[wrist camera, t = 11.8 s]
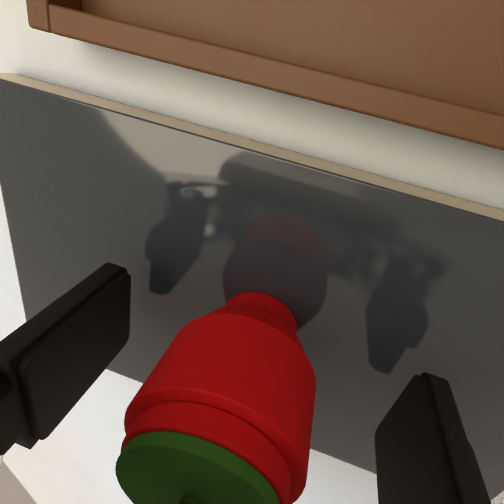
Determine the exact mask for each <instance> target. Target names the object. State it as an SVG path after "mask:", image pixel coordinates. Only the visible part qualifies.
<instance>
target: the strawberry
mask: <svg viewBox="0 0 504 504" xmlns="http://www.w3.org/2000/svg"><path fill="white" fill-rule="evenodd" d="M296 334H297V325H296V321H295V318H294V316H293V314H292V312H291V311H290V310H289V308H288V307H287V306H286V305H285V304H283V303H282V302H281V301H279V300H278V299H276V298H274V297H273V296H270V295H268V294H264V293H259V292H246V293H242V294H239V295H237V296H235V297H233V298H231V299H230V300H229V301H228V302H227V303H226V305H225V306H224V307H222V308H219V309H217V310H214V311H212V312H210V313H208V314H207V315H205V316H202V317H198V318H196V319H194V320H192V321H190V322H189V323H187V324H186V325H184V326H183V327H182V328H181V329H180V330H179V332H178V333H177V335H176V336H175V338H174V339H173V341H172V342H171V344H170V345H169V346H168V348H167V349H166V351H165V352H164V354H163V355H162V357H161V358H160V360H159V361H158V363H157V364H156V366H155V367H154V369H153V370H152V372H151V373H150V375H149V376H148V378H147V379H146V381H145V382H144V384H143V385H142V387H141V388H140V390H139V391H138V392H137V394H136V395H135V397H134V398H133V400H132V401H131V403H130V404H129V406H128V408H127V410H126V413H125V419H124V426H125V432H126V436H125V438H124V440H123V443H122V447H121V454H120V456H119V457H118V460H117V462H116V476H117V479H118V482H119V484H120V486H121V488H122V489H123V491H124V492H125V494H126V495H127V496H128V497H129V499H130V500H131V501H132V502H133V503H134V504H292V503H294V502H295V501H296V500H297V499H298V498H299V497H300V495H301V494H302V492H303V490H304V488H305V485H306V479H307V470H308V461H309V451H310V442H311V432H312V423H313V413H314V404H315V394H316V378H315V373H314V371H313V368H312V365H311V363H310V361H309V360H308V358H307V356H306V354H305V351H304V349H303V346H302V344H301V342H300V340H299V339H298V337H297V335H296Z"/></svg>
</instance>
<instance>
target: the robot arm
mask: <svg viewBox="0 0 504 504" xmlns="http://www.w3.org/2000/svg"><path fill="white" fill-rule="evenodd" d="M130 301H131V275H130V274H128V273H127V269H126V268H124V267H121V266H119V265H116V264H113V263H110V262H107V263H105V264H104V265H102V266H101V267H100V268H98V269H97V270H96V271H94V272H93V273H92V274H90V275H89V276H88V277H86V278H85V279H84V280H82V281H81V282H80V283H78V284H77V285H76V286H74V287H73V288H72V289H70V290H69V291H68V292H66V293H65V294H64V295H62V296H60V297H59V298H58V299H56V300H55V301H54V302H52V303H51V304H50V305H48V306H47V307H46V308H44V309H43V310H42V311H40V312H39V313H38V314H36V315H35V316H34V317H32V318H31V319H30V320H28V321H27V322H26V323H24V324H23V325H22V326H20V327H19V328H18V329H16V330H15V331H14V332H12V333H11V334H10V335H8V336H7V337H6V338H4V339H3V340H2V341H0V469H1V464H2V459H3V455H4V454H5V453H6V452H7V451H8V450H9V449H10V448H11V447H12V445H13V444H14V443H17V444H19V445H21V446H23V447H26V448H28V449H31V448H32V447H33V446H34V445H35V444H36V442H37V441H38V440H39V439H40V440H43V439H45V438H47V437H48V436H49V435H50V434H51V433H52V431H53V430H54V429H55V428H56V427H57V425H58V424H59V423H60V422H61V421H62V420H63V418H64V417H65V416H66V415H67V414H68V412H69V411H70V410H71V409H72V408H73V407H74V405H75V404H76V403H77V402H78V401H79V399H80V398H81V397H82V396H83V395H84V393H85V392H86V391H87V390H88V389H89V388H90V386H91V385H92V384H93V383H94V382H95V380H96V379H97V378H98V377H99V376H100V375H101V373H102V372H103V371H104V370H105V369H106V367H107V366H108V365H109V364H110V363H111V361H112V360H113V359H114V358H115V357H116V356H117V354H118V353H119V352H120V351H121V350H122V348H123V347H124V346H125V345H126V343H127V341H128V339H129V335H130ZM374 442H375V457H376V472H377V487H378V501H379V504H491V501H490V498H489V495H488V492H487V489H486V486H485V483H484V480H483V477H482V474H481V471H480V468H479V465H478V462H477V459H476V456H475V453H474V450H473V448H472V446H471V444H470V442H469V441H468V439H467V436H466V433H465V430H464V427H463V424H462V421H461V418H460V415H459V412H458V409H457V406H456V402H455V399H454V396H453V393H452V390H451V387H450V384H449V382H448V381H447V380H446V379H444V378H441V377H438V376H435V375H432V374H429V373H426V372H423V373H422V374H421V375H420V376H419V375H414V376H413V377H412V379H411V380H410V382H409V383H408V384H407V386H406V387H405V389H404V390H403V392H402V393H401V394H400V396H399V397H398V399H397V400H396V401H395V403H394V404H393V406H392V407H391V409H390V410H389V411H388V413H387V414H386V416H385V417H384V419H383V420H382V421H381V423H380V424H379V426H378V427H377V429H376V432H375V438H374Z"/></svg>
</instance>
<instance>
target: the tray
mask: <svg viewBox="0 0 504 504" xmlns="http://www.w3.org/2000/svg"><path fill="white" fill-rule="evenodd" d="M26 3H27V12H28V21H29V25H30V27H32V28H34V29H38V30H42V31H45V32H49V33H54V34H57V35H61V36H65V37H69V38H72V39H76V40H80V41H84V42H88V43H92V44H96V45H99V46H103V47H107V48H111V49H115V50H119V51H123V52H126V53H130V54H134V55H138V56H142V57H146V58H150V59H153V60H157V61H161V62H165V63H169V64H173V65H177V66H181V67H184V68H188V69H192V70H196V71H200V72H204V73H208V74H211V75H215V76H219V77H223V78H227V79H231V80H235V81H238V82H242V83H246V84H250V85H254V86H258V87H262V88H265V89H269V90H273V91H277V92H281V93H285V94H289V95H293V96H296V97H300V98H304V99H308V100H312V101H316V102H320V103H323V104H327V105H331V106H335V107H339V108H343V109H347V110H350V111H354V112H358V113H362V114H366V115H370V116H374V117H377V118H381V119H385V120H389V121H393V122H397V123H401V124H404V125H408V126H412V127H416V128H420V129H424V130H428V131H432V132H435V133H439V134H443V135H447V136H451V137H455V138H459V139H462V140H466V141H470V142H474V143H478V144H482V145H486V146H489V147H493V148H497V149H501V150H504V0H26Z"/></svg>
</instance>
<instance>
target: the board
mask: <svg viewBox="0 0 504 504" xmlns="http://www.w3.org/2000/svg"><path fill="white" fill-rule="evenodd" d="M0 185H1V191H2V196H3V201H4V206H5V212H6V217H7V222H8V227H9V233H10V238H11V243H12V248H13V254H14V259H15V264H16V269H17V275H18V280H19V285H20V290H21V296H22V301H23V306H24V311H25V317H26V322H27V321H28V320H30V319H31V318H32V317H34V316H35V315H36V314H38V313H39V312H40V311H42V310H43V309H44V308H46V307H47V306H48V305H50V304H51V303H52V302H54V301H55V300H56V299H58V298H59V297H60V296H62V295H64V294H65V293H66V292H68V291H69V290H70V289H72V288H73V287H74V286H76V285H77V284H78V283H80V282H81V281H82V280H84V279H85V278H86V277H88V276H89V275H90V274H92V273H93V272H94V271H96V270H97V269H98V268H100V267H101V266H102V265H104V264H105V263H107V262H110V263H113V264H116V265H119V266H121V267H124V268H126V269H127V273H128V274H130V275H131V301H130V335H129V339H128V341H127V343H126V345H125V346H124V347H123V348H122V350H121V351H120V352H119V353H118V354H117V356H116V357H115V358H114V359H113V360H112V361H111V363H110V364H109V365H108V366H107V367H106V369H108V370H110V371H113V372H116V373H118V374H121V375H123V376H126V377H128V378H131V379H134V380H136V381H139V382H141V383H144V382H145V381H146V379H147V378H148V376H149V375H150V373H151V372H152V370H153V369H154V367H155V366H156V364H157V363H158V361H159V360H160V358H161V357H162V355H163V354H164V352H165V351H166V349H167V348H168V346H169V345H170V344H171V342H172V341H173V339H174V338H175V336H176V335H177V333H178V332H179V330H180V329H181V328H182V327H183V326H184V325H186V324H187V323H189V322H190V321H192V320H194V319H196V318H198V317H202V316H205V315H207V314H208V313H210V312H212V311H214V310H217V309H219V308H222V307H224V306H225V305H226V303H227V302H228V301H229V300H230V299H231V298H233V297H235V296H237V295H239V294H242V293H246V292H259V293H264V294H268V295H270V296H273V297H274V298H276V299H278V300H279V301H281V302H282V303H283V304H285V305H286V306H287V307H288V308H289V310H290V311H291V312H292V314H293V316H294V318H295V321H296V325H297V334H296V335H297V337H298V339H299V340H300V342H301V344H302V346H303V349H304V351H305V354H306V356H307V358H308V360H309V361H310V363H311V365H312V368H313V371H314V373H315V378H316V394H315V404H314V413H313V423H312V432H311V442H310V448H311V449H314V450H316V451H319V452H321V453H324V454H326V455H329V456H332V457H334V458H337V459H339V460H342V461H344V462H347V463H350V464H352V465H355V466H357V467H360V468H362V469H365V470H368V471H370V472H373V473H375V474H377V472H376V457H375V442H374V438H375V432H376V429H377V427H378V426H379V424H380V423H381V421H382V420H383V419H384V417H385V416H386V414H387V413H388V411H389V410H390V409H391V407H392V406H393V404H394V403H395V401H396V400H397V399H398V397H399V396H400V394H401V393H402V392H403V390H404V389H405V387H406V386H407V384H408V383H409V382H410V380H411V379H412V377H413V376H414V375H419V376H420V375H421V374H422V373H423V372H426V373H429V374H432V375H435V376H438V377H441V378H444V379H446V380H447V381H448V382H449V384H450V387H451V390H452V393H453V396H454V399H455V402H456V406H457V409H458V412H459V415H460V418H461V421H462V424H463V427H464V430H465V433H466V436H467V439H468V441H469V442H470V444H471V446H472V448H473V450H474V453H475V456H476V459H477V462H478V465H479V468H480V471H481V474H482V477H483V480H484V483H485V486H486V489H487V492H488V495H489V498H490V501H491V500H493V499H494V498H495V497H496V496H498V495H499V494H500V493H501V492H503V491H504V210H500V209H496V208H493V207H489V206H486V205H482V204H479V203H475V202H471V201H468V200H464V199H461V198H457V197H454V196H450V195H446V194H443V193H439V192H436V191H432V190H429V189H425V188H421V187H418V186H414V185H411V184H407V183H404V182H400V181H396V180H393V179H389V178H386V177H382V176H379V175H375V174H371V173H368V172H364V171H361V170H357V169H354V168H350V167H346V166H343V165H339V164H336V163H332V162H329V161H325V160H321V159H318V158H314V157H311V156H307V155H304V154H300V153H296V152H293V151H289V150H286V149H282V148H279V147H275V146H271V145H268V144H264V143H261V142H257V141H254V140H250V139H246V138H243V137H239V136H236V135H232V134H229V133H225V132H221V131H218V130H214V129H211V128H207V127H204V126H200V125H196V124H193V123H189V122H186V121H182V120H179V119H175V118H171V117H168V116H164V115H161V114H157V113H154V112H150V111H146V110H143V109H139V108H136V107H132V106H129V105H125V104H121V103H118V102H114V101H111V100H107V99H104V98H100V97H96V96H93V95H89V94H86V93H82V92H79V91H75V90H71V89H68V88H64V87H61V86H57V85H54V84H50V83H46V82H43V81H39V80H36V79H32V78H29V77H25V76H21V75H18V74H14V73H0Z"/></svg>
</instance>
